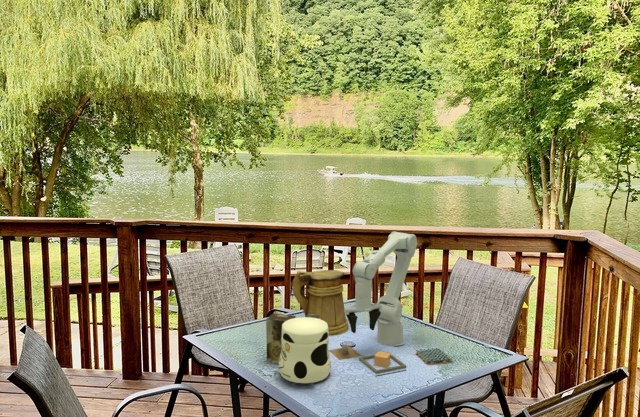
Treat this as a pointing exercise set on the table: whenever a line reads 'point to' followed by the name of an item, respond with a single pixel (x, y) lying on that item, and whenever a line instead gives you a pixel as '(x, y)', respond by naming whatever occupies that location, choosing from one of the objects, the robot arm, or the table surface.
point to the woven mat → (433, 356)
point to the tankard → (323, 297)
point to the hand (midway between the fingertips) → (362, 330)
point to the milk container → (304, 351)
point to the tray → (384, 368)
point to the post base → (341, 356)
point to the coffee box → (275, 336)
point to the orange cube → (382, 359)
